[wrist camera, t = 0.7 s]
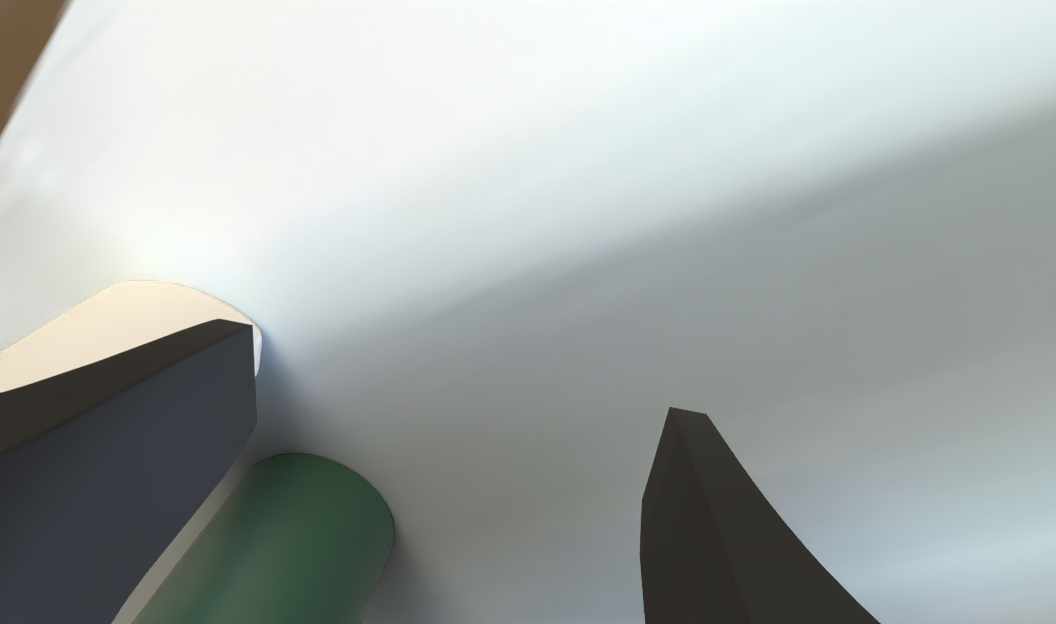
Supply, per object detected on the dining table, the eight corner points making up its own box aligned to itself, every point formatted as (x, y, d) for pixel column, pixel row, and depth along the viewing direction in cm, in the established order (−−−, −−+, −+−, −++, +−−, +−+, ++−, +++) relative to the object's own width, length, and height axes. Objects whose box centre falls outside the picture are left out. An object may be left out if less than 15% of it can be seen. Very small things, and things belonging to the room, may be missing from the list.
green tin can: (391, 591, 29) (310, 804, 21) (241, 561, 29) (111, 759, 22) (398, 471, 26) (308, 670, 18) (231, 438, 26) (76, 621, 19)
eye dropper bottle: (221, 411, 26) (-68, 723, 15) (95, 309, 24) (-323, 572, 14) (287, 345, 24) (14, 644, 13) (155, 231, 22) (-269, 462, 12)
